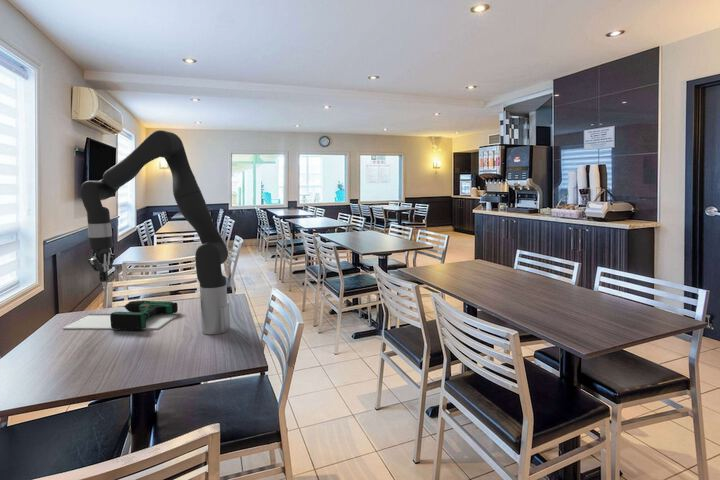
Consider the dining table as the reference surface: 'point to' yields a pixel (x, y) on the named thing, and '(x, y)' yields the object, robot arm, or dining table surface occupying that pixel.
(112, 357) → the dining table surface
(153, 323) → the mat
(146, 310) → the power drill
